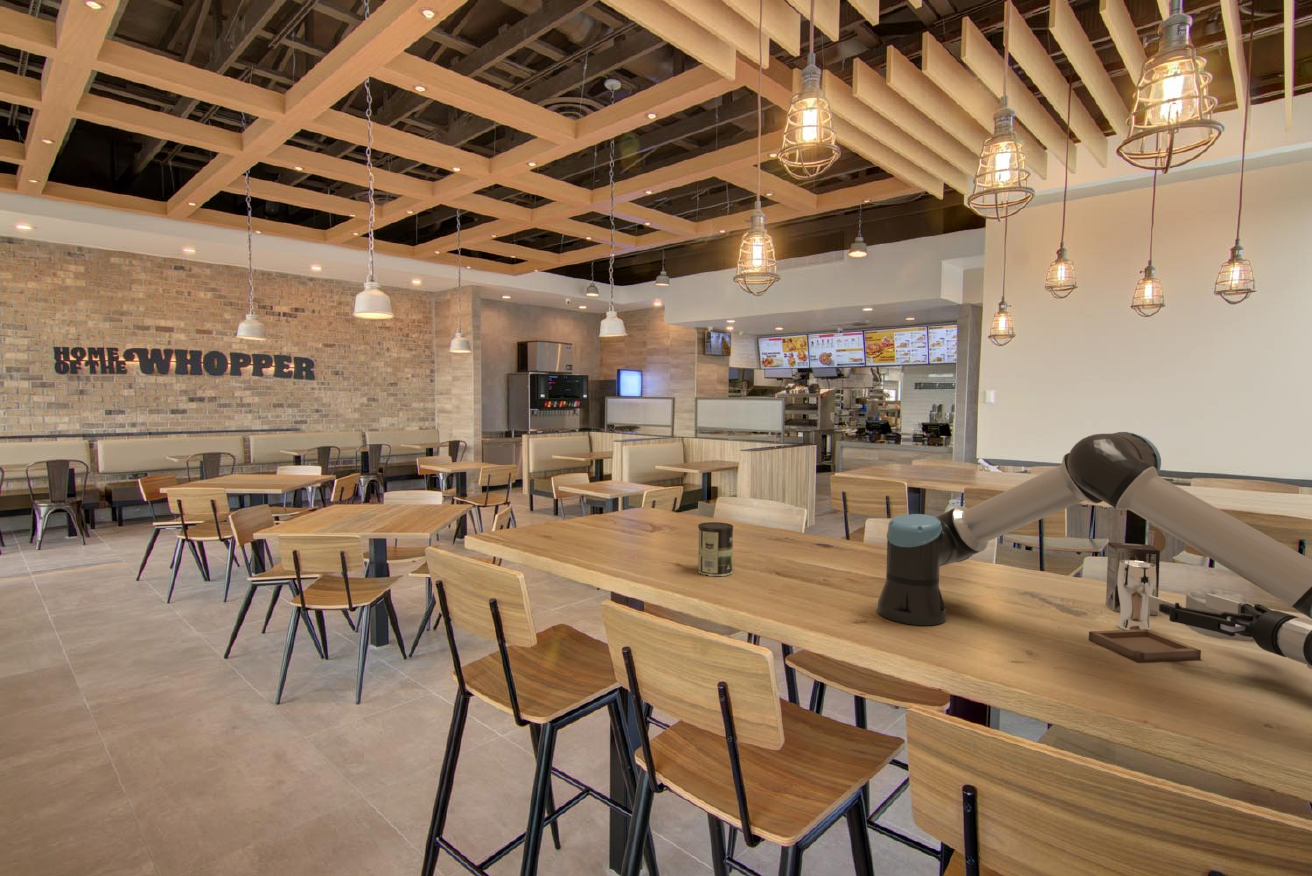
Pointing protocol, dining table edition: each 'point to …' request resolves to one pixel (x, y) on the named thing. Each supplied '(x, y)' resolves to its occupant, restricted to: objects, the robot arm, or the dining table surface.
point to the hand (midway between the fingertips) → (1178, 600)
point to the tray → (1144, 645)
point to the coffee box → (1127, 553)
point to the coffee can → (715, 548)
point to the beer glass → (1135, 593)
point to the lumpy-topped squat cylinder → (1212, 610)
